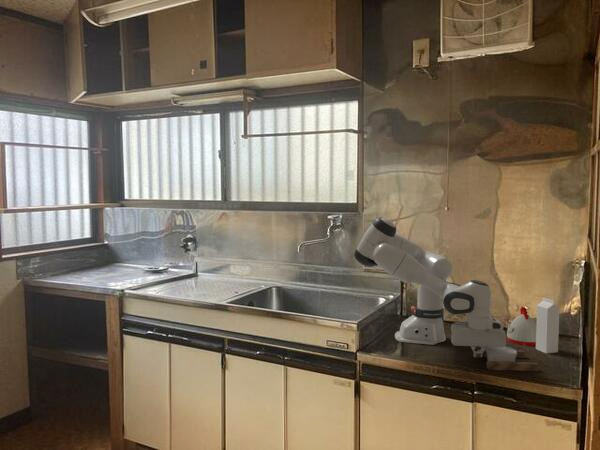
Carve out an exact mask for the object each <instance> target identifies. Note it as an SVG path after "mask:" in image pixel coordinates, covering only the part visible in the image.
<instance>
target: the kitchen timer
mask: <svg viewBox="0 0 600 450" xmlns="http://www.w3.org/2000/svg"><path fill="white" fill-rule="evenodd" d="M519 310H520V311H519V312H520V315H517V316H516V317H515V318H514V319H513V320H512V321H511V323H508V325H507V332H506V341H508V342H509V343H511V344H514V345H519V346H526V347H527V346H528V347H536V324H537V322H536V321H535V320H534V319H533V318H532V317H531V316H530V315H529V314H528V313H529V312H528V311H527V308H526V307H525V306H521V307H520V309H519Z"/></svg>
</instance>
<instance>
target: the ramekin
mask: <svg viewBox="0 0 600 450" xmlns="http://www.w3.org/2000/svg"><path fill="white" fill-rule="evenodd" d="M485 349H486V352H487V357H486V358H487V361H495V362H516V359H517V358H516V355H517V351H516V350H517V349H515V348H513V347H509V346H507V345H505V346H504V347H485Z"/></svg>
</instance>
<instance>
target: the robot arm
mask: <svg viewBox="0 0 600 450" xmlns="http://www.w3.org/2000/svg"><path fill="white" fill-rule="evenodd" d="M353 255H354V258H355V259H354V260H356V261H357V263H359V264H360V265H362V266H365V267H367V268H372V267H373V268H374V267H375V266H376V267H378V266H379V268H380V269H382V270H383V271H384V272H386V273H387V274H389V275H390V276H391V277H393V278H394V279H397V280H399V281H400V282H403V283H405V284H412V283H413V284H418V285H420V286H419V288H418V289H417V299H416V300H417V302H416V303H417V305H416V306H414V305H412V306H411V307H410V310H411V311H412V315H411V316H409V317H408V318H406V319H405V320H403V321H402V322H401V325H400V327H399V330H398V331H396V332H395V333H394V339H395V340H396V341H398V342H400V343H408V344H423V345H432V346H433V345H437V344H438V343H442V342H445V341H446V340H447V337H446V334H445V330H444V317H445V311H444V308H445V310H446V311H447V312H448V313H450V314H452V315H464V314H466V321H455V322H453V323H452V324H451V326H450V327H451V328H450V331H451V337H450V341H451V344H452V345H453V346H454V347H455V346H456V347H470V349H471V351H472V352H473V357H474V358H483V357H482V353H483V352H484V351H485V349H486V347H504V346H507V334H506V332H505V330H504V327H505V326H504V324H503V322H502V321H501V320H499V319H496V318H493V317H491V316H492V314H491V307H492V292H491V291H492V289H491V287H490V286H489V284H488V283H487V282H484V281H481V280H477V279H476V280H474V279H473V280H472V279H471V280H469V281H468V282H466V283H464V284H462V285H461V284H458V283H456V282H449V281H447V280H448V278H449V277H450V276H451V275H452V272H453V266H452V263H451V261H449V259H448V258H446V257H445V256H443V255H442V254H441V255H440V254H437V253H433V252H431V251H428V250H426V249H424V248H423V247H421V246H419V245H418V244H417V243H415V241H411V240H410V239H407V238H406V237H404V236H403V235H400V234H398V233H397V227H396V225H395V224H394V222H393V221H391V220H390V219H389V218H386V217H382V216H380V217H376V218H375V219H374V220H373V221H372V224H371V225H369V227H368V229H367V230H366V231H365V232H364V234H363V236H362V238H361V239H360V241H359V243H358V245H357V246H356V248H355V250H354V253H353ZM443 307H444V308H443ZM476 347H480V349H481V350H480V352H477V351H476Z"/></svg>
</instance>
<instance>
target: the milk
mask: <svg viewBox="0 0 600 450" xmlns="http://www.w3.org/2000/svg"><path fill="white" fill-rule="evenodd" d="M559 326H560V306H558V305H557V304H555V301H554V300H553V299H551V298H546V297H542V301H541V302H540V303H538V304H537V305H536V345H535V350H537V351H539V352H542V353H544V354H555V353H558V352H559V336H560V335H559V334H560V333H559V331H560V327H559Z"/></svg>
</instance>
